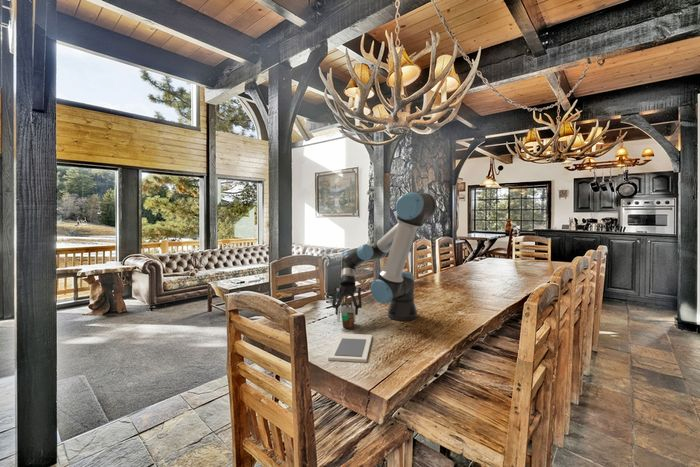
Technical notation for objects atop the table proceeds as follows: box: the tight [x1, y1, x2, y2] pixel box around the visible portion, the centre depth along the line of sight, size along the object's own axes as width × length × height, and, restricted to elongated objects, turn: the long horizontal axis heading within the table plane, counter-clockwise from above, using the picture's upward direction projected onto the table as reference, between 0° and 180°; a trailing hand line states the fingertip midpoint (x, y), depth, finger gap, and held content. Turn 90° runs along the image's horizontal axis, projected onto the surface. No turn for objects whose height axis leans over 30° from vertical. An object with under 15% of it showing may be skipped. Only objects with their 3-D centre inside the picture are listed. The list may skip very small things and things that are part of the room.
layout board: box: [327, 333, 373, 363], centre depth 131 cm, size 14×24×1 cm, turn 171°
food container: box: [340, 300, 355, 330], centre depth 155 cm, size 12×6×10 cm, turn 4°
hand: (346, 320), depth 152 cm, fingers closed on food container, 7 cm apart
